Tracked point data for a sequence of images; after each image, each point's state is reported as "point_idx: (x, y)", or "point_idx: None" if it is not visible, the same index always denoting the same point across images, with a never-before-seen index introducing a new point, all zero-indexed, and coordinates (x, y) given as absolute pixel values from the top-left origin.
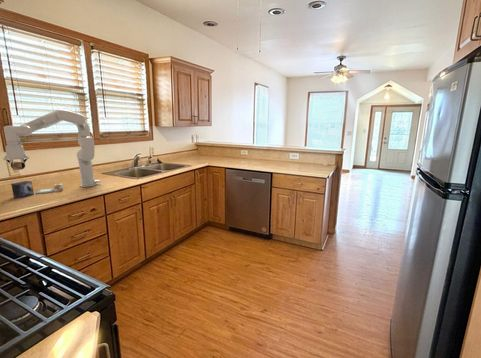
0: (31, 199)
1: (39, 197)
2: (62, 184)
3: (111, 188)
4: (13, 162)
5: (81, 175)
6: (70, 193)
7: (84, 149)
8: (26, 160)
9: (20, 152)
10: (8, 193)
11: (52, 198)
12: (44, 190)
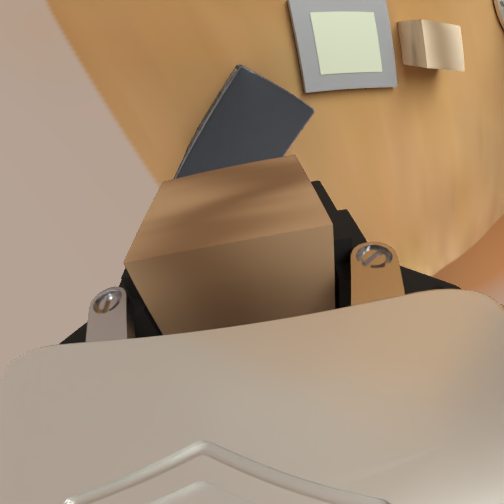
0: None
1: (351, 187)
2: (457, 33)
3: None
4: (154, 316)
5: None
6: (476, 157)
7: None
8: (440, 288)
9: None
10: (89, 37)
11: (413, 227)
12: (342, 42)
